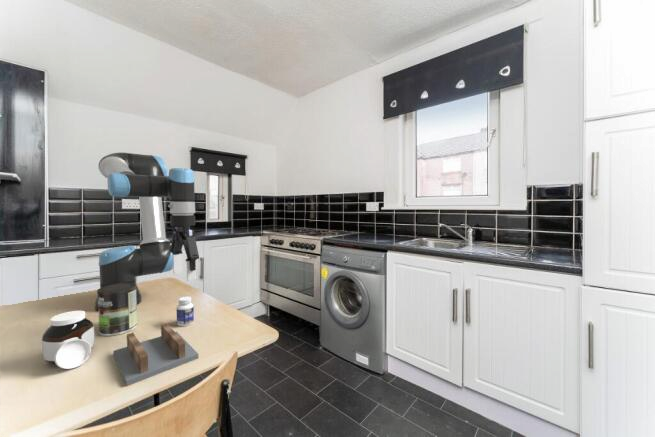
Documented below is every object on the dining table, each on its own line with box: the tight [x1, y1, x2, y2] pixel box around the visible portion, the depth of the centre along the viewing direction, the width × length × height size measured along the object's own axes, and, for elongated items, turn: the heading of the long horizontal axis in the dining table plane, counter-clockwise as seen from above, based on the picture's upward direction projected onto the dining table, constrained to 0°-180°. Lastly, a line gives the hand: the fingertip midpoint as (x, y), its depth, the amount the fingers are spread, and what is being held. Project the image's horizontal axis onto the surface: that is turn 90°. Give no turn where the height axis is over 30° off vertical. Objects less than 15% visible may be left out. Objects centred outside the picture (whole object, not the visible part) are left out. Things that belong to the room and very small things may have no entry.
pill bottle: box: [176, 296, 195, 327], centre depth 95 cm, size 5×5×9 cm
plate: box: [112, 331, 199, 387], centre depth 75 cm, size 18×16×1 cm
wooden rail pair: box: [126, 322, 185, 373], centre depth 75 cm, size 16×10×4 cm, turn 46°
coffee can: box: [96, 283, 138, 337], centre depth 91 cm, size 10×10×14 cm
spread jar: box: [41, 310, 95, 370], centre depth 73 cm, size 12×11×12 cm
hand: (184, 276), depth 94 cm, fingers open, 13 cm apart
